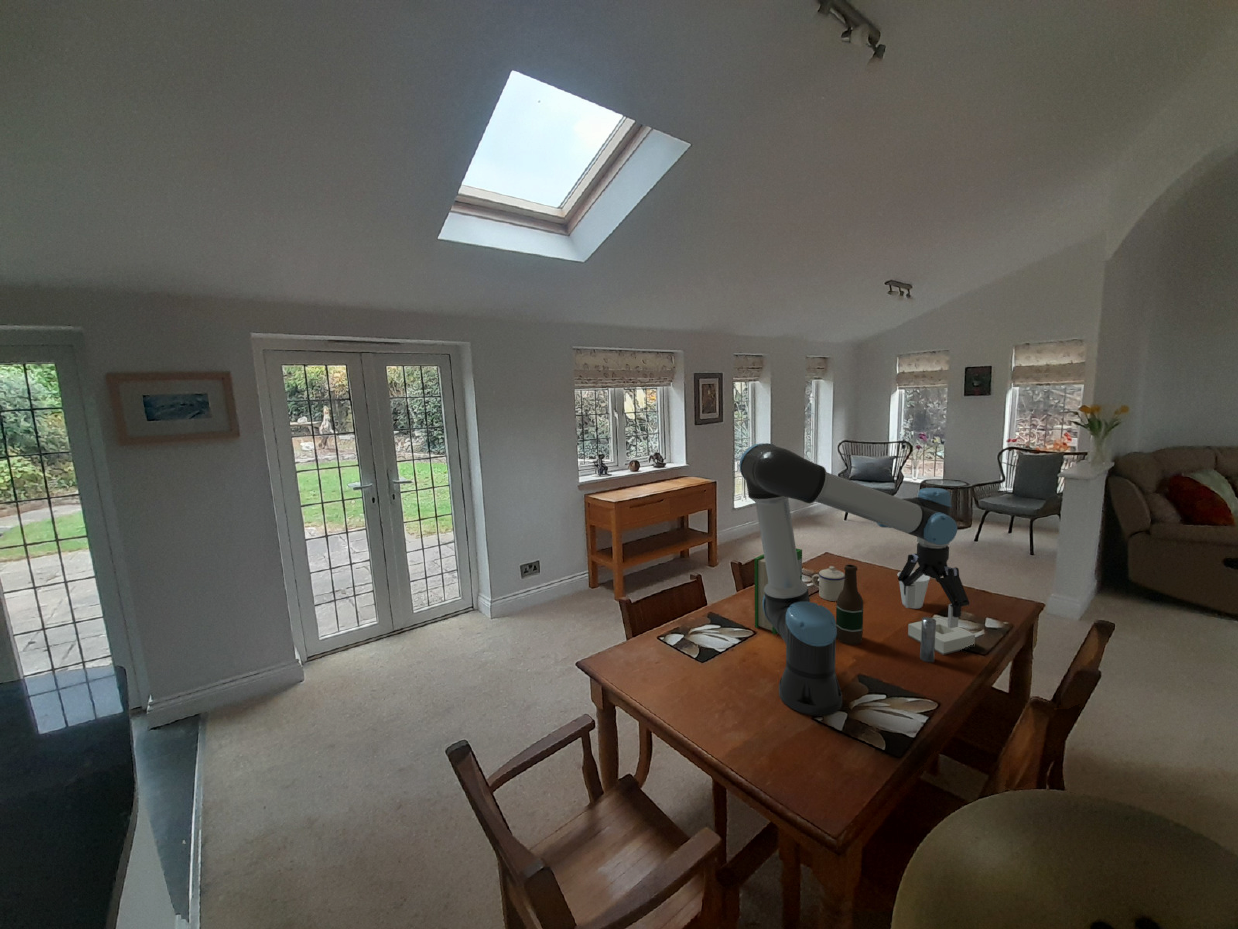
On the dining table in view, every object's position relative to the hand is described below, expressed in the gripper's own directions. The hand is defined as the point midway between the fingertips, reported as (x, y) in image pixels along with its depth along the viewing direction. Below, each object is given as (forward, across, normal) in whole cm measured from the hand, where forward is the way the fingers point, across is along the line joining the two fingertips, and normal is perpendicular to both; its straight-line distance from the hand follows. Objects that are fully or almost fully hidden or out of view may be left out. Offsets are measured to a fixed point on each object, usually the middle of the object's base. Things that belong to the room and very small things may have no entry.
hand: (930, 616), depth 139 cm
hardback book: (+13, +35, +26) cm, 45 cm away
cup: (+13, +28, -24) cm, 40 cm away
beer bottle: (+13, +17, +12) cm, 25 cm away
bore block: (+13, +6, -12) cm, 18 cm away
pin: (+13, 0, 0) cm, 13 cm away
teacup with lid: (+13, +46, -4) cm, 48 cm away
